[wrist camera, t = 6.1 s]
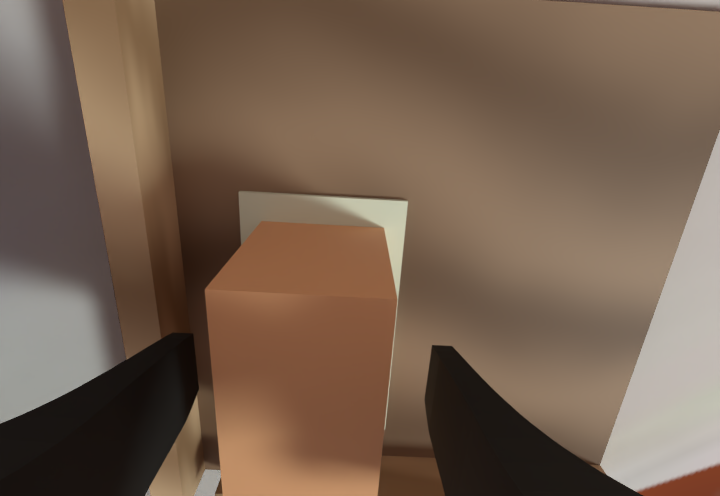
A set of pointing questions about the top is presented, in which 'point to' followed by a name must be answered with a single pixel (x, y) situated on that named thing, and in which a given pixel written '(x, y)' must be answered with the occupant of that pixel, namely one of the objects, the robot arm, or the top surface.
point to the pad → (329, 218)
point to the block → (302, 360)
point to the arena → (410, 181)
